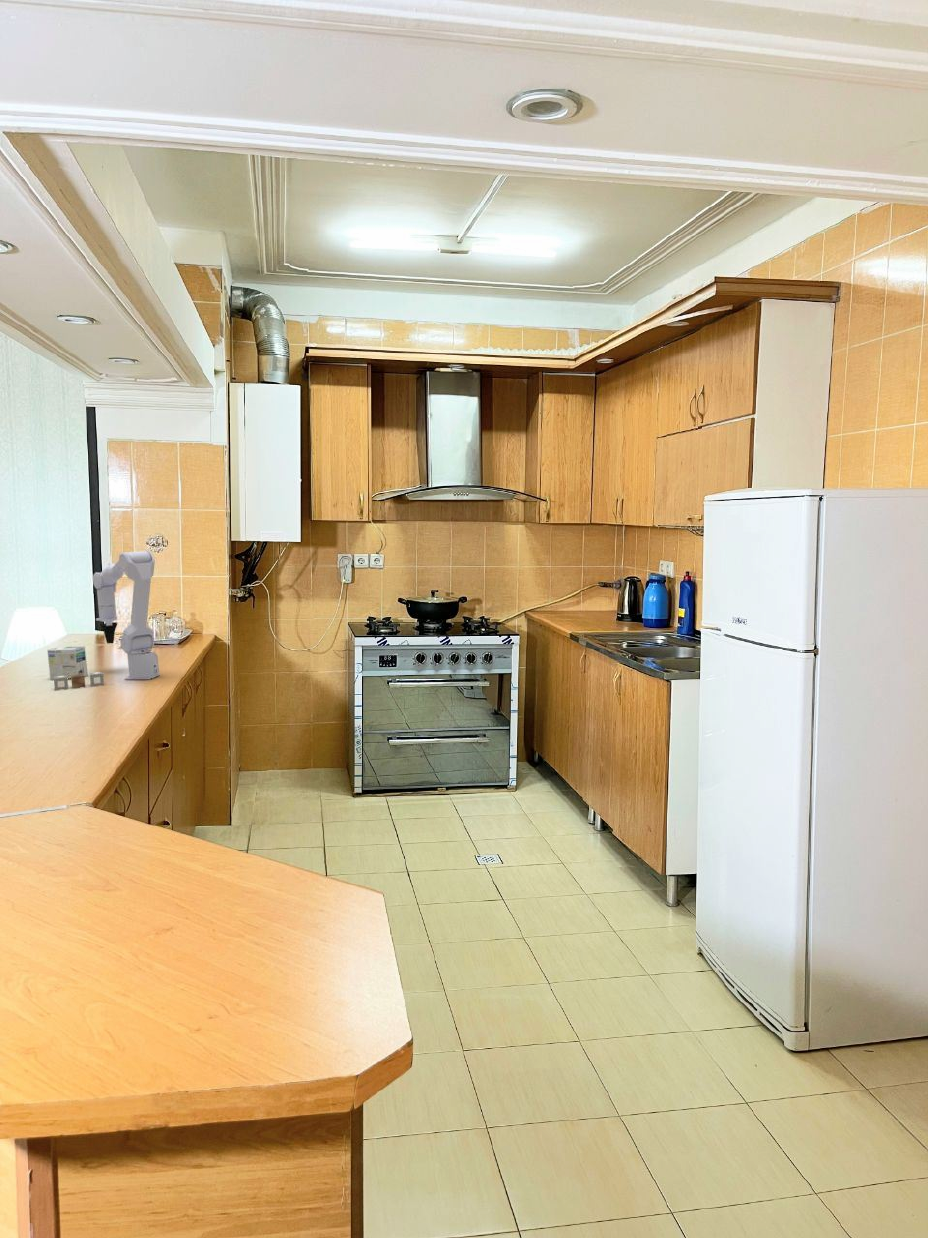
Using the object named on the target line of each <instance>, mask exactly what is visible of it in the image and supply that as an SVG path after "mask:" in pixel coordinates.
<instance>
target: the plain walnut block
mask: <svg viewBox="0 0 928 1238" xmlns="http://www.w3.org/2000/svg"><path fill="white" fill-rule="evenodd" d="M85 677H86V676H85ZM85 677H84V674H76V675H71V679H70V680H71V688H74V689H81V688H80V687H84V688H86V680H85V679H86V678H85Z"/></svg>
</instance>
